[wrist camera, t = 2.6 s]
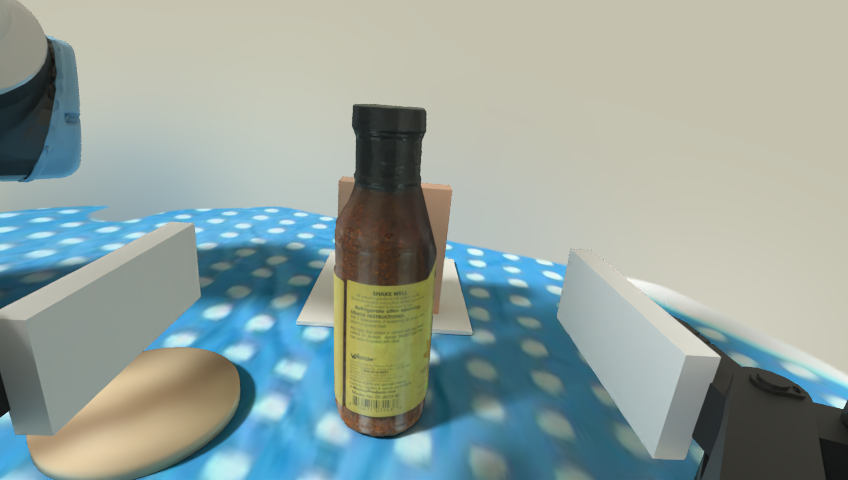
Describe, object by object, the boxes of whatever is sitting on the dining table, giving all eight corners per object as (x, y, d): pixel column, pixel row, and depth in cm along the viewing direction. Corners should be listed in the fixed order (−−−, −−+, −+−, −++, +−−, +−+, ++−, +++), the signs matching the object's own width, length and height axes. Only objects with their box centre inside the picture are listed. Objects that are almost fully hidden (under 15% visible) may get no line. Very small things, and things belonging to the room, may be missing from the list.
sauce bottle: (443, 411, 29) (481, 113, 23) (372, 460, 25) (394, 107, 18) (382, 366, 33) (399, 103, 27) (312, 401, 29) (313, 97, 23)
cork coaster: (-8, 428, 25) (-12, 414, 24) (176, 342, 34) (174, 331, 34) (97, 524, 20) (93, 508, 20) (275, 394, 29) (275, 382, 29)
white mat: (472, 335, 39) (472, 331, 39) (296, 324, 38) (296, 320, 38) (453, 262, 56) (453, 259, 56) (331, 253, 55) (331, 250, 55)
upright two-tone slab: (438, 313, 41) (452, 190, 37) (335, 307, 41) (338, 181, 37) (436, 302, 44) (449, 184, 40) (339, 296, 43) (342, 176, 39)
